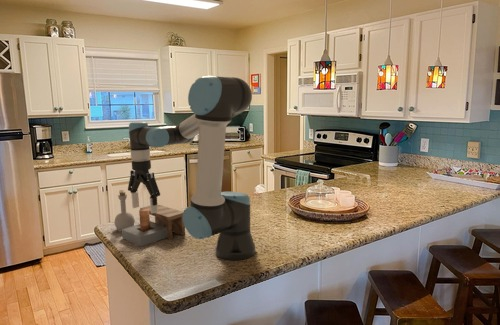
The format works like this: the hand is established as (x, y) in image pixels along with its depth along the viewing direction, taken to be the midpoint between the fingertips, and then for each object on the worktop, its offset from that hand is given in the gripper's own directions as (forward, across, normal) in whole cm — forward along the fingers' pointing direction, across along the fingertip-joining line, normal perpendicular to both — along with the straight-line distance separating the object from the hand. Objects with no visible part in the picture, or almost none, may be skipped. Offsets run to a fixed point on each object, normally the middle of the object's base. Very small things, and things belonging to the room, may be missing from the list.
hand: (144, 210), depth 153 cm
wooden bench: (+12, +1, -9) cm, 15 cm away
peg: (+12, +1, 0) cm, 12 cm away
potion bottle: (+12, +18, 0) cm, 21 cm away
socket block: (+12, +1, 0) cm, 12 cm away
